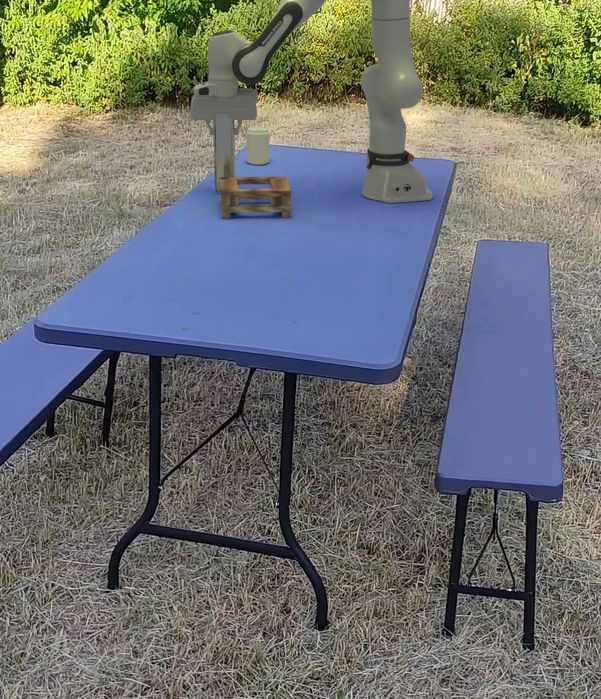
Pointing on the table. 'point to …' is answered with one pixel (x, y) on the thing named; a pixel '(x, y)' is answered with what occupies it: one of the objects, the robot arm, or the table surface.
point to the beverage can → (257, 145)
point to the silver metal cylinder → (223, 147)
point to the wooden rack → (255, 195)
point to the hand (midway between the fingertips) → (224, 134)
